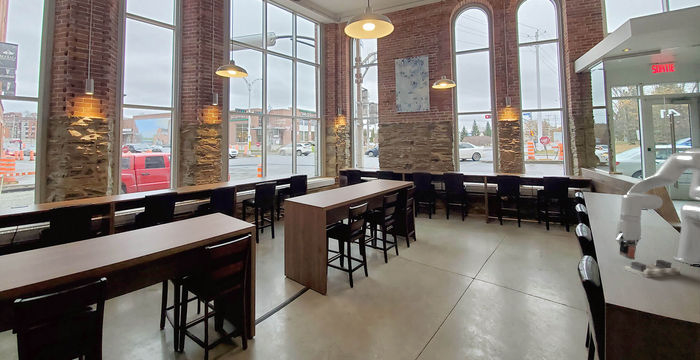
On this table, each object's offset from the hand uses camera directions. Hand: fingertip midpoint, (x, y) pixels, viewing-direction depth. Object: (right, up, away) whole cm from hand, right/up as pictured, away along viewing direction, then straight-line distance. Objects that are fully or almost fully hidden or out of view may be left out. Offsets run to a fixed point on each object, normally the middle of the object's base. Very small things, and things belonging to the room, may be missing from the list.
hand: (627, 252), depth 148 cm
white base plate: (+2, -7, -10) cm, 12 cm away
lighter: (0, -3, 0) cm, 3 cm away
